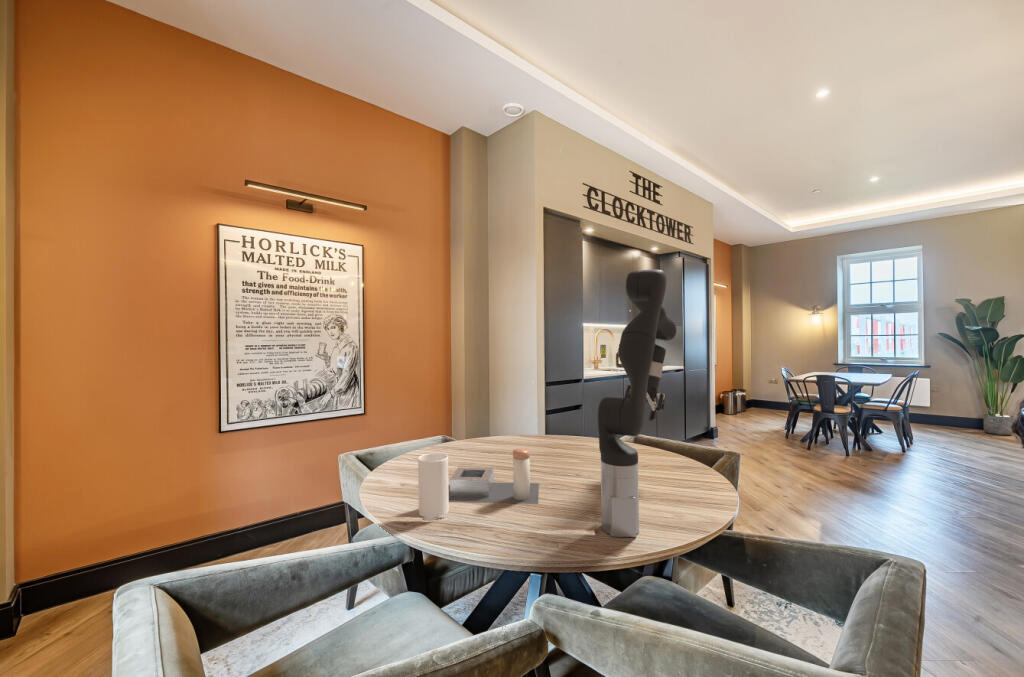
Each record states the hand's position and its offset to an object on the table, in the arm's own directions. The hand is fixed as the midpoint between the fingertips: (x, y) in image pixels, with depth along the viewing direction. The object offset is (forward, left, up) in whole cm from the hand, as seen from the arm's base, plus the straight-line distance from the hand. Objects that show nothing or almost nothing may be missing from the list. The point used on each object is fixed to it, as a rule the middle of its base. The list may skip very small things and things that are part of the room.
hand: (640, 417), depth 147 cm
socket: (-22, +58, -19) cm, 65 cm away
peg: (-28, +42, -19) cm, 54 cm away
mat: (-24, +51, -20) cm, 60 cm away
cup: (-39, +66, -20) cm, 79 cm away
